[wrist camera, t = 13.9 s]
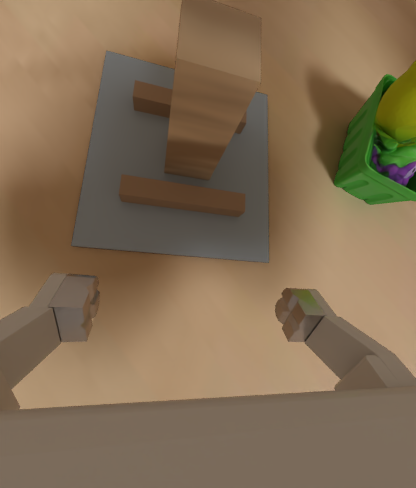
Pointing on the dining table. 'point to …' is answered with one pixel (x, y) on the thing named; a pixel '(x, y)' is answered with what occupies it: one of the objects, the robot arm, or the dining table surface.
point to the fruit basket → (382, 144)
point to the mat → (169, 176)
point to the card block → (210, 84)
